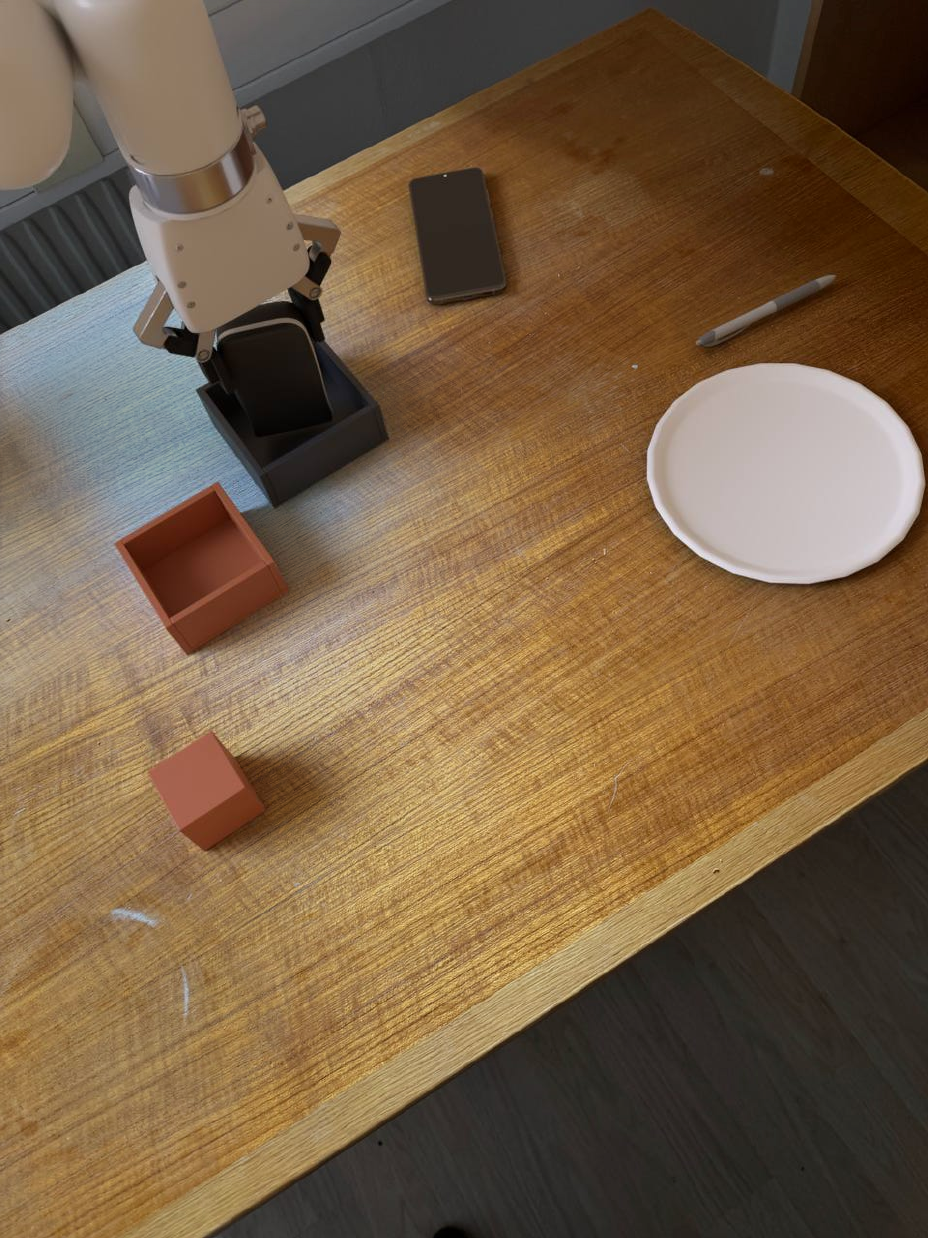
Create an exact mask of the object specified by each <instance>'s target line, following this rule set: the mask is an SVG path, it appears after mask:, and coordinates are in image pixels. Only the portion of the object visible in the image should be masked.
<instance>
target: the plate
mask: <svg viewBox="0 0 928 1238" xmlns="http://www.w3.org/2000/svg"><path fill="white" fill-rule="evenodd" d="M646 452H647V453H646V454H647V456H646V482H647V485H648V489H649V492H650V495H651V499H652V502H653V504H654V507H655V510H656V511H657V513H658V514H659V516H660V517H661V519H662V520H663V521H664V523H665V525H666V526H667V528H668V529H669V530H670V532H671V534H672V535H673V536H674V537H675V538H676V539H678V541H680V542H681V543H682V544H684V545H685V546H686V547H687V548H688V549H689V550H690V551H692V552H693V554H695V555H696V556H697V557H698V558H700V559H702V560H704V561H706V562H707V563H709V564H712V565H714V566H716V567H718V568H720V569H721V570H723V571H725V572H727V573H729V574H731V575H733V576H738V577H741V578H744V579H745V578H746V579H750V580H754V581H756V582H757V581H758V582H762V583H764V584H770V585H801V586H802V585H803V586H804V585H805V586H810V585H814V584H820V583H825V582H830V581H834V580H835V581H836V580H840V579H845V578H847V577H850V576H851V575H854V574H856V573H858V572H860V571H862V570H865V569H866V568H868V567H870V566H873V565H875V564H877V563H879V562H880V561H881V560H882V559H883V558H884V557H886V556H887V555H888V554H889V553H891V551H892V550H893V549H894V548H897V546H898V545H899V544H901V543H902V542H903V541H904V539H905V537H906V536H907V534H908V532H909V531H910V529H911V527H913V524H914V522H915V521H916V519H917V518H918V516H919V514H920V513H921V512H920V511H921V507H922V502H923V497H924V492H925V488H926V477H925V471H924V462H923V456H922V452H921V450H920V448H919V446H918V443H917V442H916V439H915V437H914V435H913V434H912V431H911V429H910V427H909V426H908V425H907V423H906V422H905V421H904V420H903V419H902V418H901V416H900V415H899V414H898V413H897V412H896V411H895V409H894V408H893V407H892V406H891V404H889V403H888V402H887V401H886V400H885V399H883V398H881V397H880V396H879V395H877V394H876V393H874V392H873V391H871V390H870V389H869V388H867V387H866V386H864V385H863V384H862V383H860V382H858V381H855V380H853V379H850V378H848V377H845V376H844V375H842V374H838V373H836V372H834V371H831V370H829V369H826V368H825V369H824V368H821V367H820V368H819V367H814V366H811V365H805V364H801V363H792V362H791V363H788V362H787V363H783V362H782V363H781V362H780V363H777V362H776V363H775V362H773V363H772V362H771V363H767V362H766V363H765V362H763V363H762V362H760V363H756V364H751V365H745V366H740V367H735V368H730V369H727V370H724V371H722V372H720V373H717V374H715V375H713V376H710V377H708V378H706V379H703V380H701V381H699V382H697V383H696V384H694V385H693V386H692V387H690V388H689V389H688V390H687V391H685V392H684V393H683V394H682V395H680V396H679V397H677V398H676V399H675V400H674V401H673V402H672V403H671V405H670V406H669V407H668V408H667V410H666V412H664V414H663V415H662V416H661V418H660V419H659V421H658V422H657V423H656V426H655V428H654V431H653V434H652V436H651V439H650V442H649V445H648V448H647V450H646Z"/></svg>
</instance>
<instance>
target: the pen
mask: <svg viewBox="0 0 928 1238" xmlns="http://www.w3.org/2000/svg"><path fill="white" fill-rule="evenodd" d="M836 278H837V275H836V274H831V275H830V274H828V275H823V276H822V277H819V278H816V279H814V280H811V281H808V282H807V283H805V284H803V285H801V286H798V287H797V288H795V289H792V290H790V291H788V292H786V293H784V294H782V295H780V296H779V297H776V298H773V299H772V300H770V301H767V302H766V303H765V304H762V305H761V306H759V307H757V308H754V309H752V310H750V311H749V312H745V313H744V314H741V315H740V316H737V317H736V318H734V319H731V320H729V321H727V322H725V323H723V324H721V325H719V326H717V327H715V328H713V329H711V330H709V331H706V333H704V334H702V335H700V336H699V338H698V340H696V341H695V345H696V346H704V347H714V346H717V345H719V344H721V343H723V342H725V341H728V340H730V339H732V338H733V337H735V336H736V335H738V334H740V333H742V332H743V331H745V330H746V329H747V328H748V327H750V325H751V324H753V323H755V322H757V321H759V320H761V319H763V318H765V317H767V316H769V315H772V314H774V313H777V312H778V311H781V310H783V309H785V308H786V307H789V306H791V305H793V304H795V303H797V302H799V301H801V300H803V299H806V298H807V297H809V296H811V295H813V294H815V293H818V292H819V291H821V290H822V289H823V290H824V289H825V288H826V287H827V286H829V285H830V284H832V282H834V281H835V280H836Z"/></svg>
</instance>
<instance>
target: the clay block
mask: <svg viewBox="0 0 928 1238" xmlns="http://www.w3.org/2000/svg"><path fill="white" fill-rule="evenodd" d="M147 776H148V777H149V779H150V780H151V783H152V784H153V786H154V788H155V790H156V791H157V794H158V795H159V797H160V798H161V801H162V803H163V804H164V806H165V808H166V810H167V811H168V813H169V815H170V817H171V819H172V820H173V822H174V824H175V826H176V828H177V830H178V832H180V833H181V834H183V835H184V836H185V837H186V838H187V839H189V840H190V841H191V842H192V843H193V844H194V845H196V846H197V847H198V848H200V850H202V851H203V852H205V851H208V849H211V848H212V847H213V846H215V845H216V844H218V843H219V842H221V841H223V840H224V839H225V838H226V837H228V836H230V835H231V834H233V833H234V832H236V831H238V829H240V828H242V827H243V826H245V825H246V824H247V823H249V822H251V821H253V820H254V819H256V818H257V817H258V816H259V815H261V814H263V813H264V812H266V810H267V809H266V807H265V805H264V804H263V802H262V801H261V799H260V797H259V795H258V794H257V793H256V790H255V789H254V788H253V786H252V785H251V783H250V781H249V779H248V778H247V776H246V774H245V772H244V771H243V769H242V768H241V766H240V764H239V762H238V761H237V760H236V758H235V756H234V755H233V754H232V752H231V751H230V750H229V749H228V748H227V747H226V746H225V745H224V743H223V742H222V741H221V740H220V738H218V736H217V735H216V734H215V732H213V730H210V731H209V732H207V733H206V734H204V735H202V736H201V737H199V738H198V739H196V740H195V741H193V742H191V743H190V744H189V745H187V746H185V747H183V748H182V749H181V750H179V751H177V752H176V753H175V754H173V755H171V756H170V757H168V758H167V759H164V761H162V762H160V763H159V764H157V765H156V766H154V767H153V768H151V769H149V770H148V771H147Z"/></svg>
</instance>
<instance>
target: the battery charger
mask: <svg viewBox="0 0 928 1238" xmlns="http://www.w3.org/2000/svg"><path fill="white" fill-rule="evenodd" d="M215 337H216V342H215V343H216V344H215V349H216V350H217V351H218V353H219V354H220V356H221V357H222V359H223V361H224V364H225V366H226V368H227V370H228V373H229V375H230V377H231V379H232V382H233V384H234V386H235V388H236V389H234V392H235V394H236V396H237V398H238V400H239V402H240V404H241V406H242V407H243V409H244V411H245V413H246V415H247V417H248V419H249V422H250V424H251V427H252V430H253V432H254V434H255V436H256V437H264V436H269V435H275V434H280V433H284V432H289V431H294V430H299V429H303V428H307V427H311V426H316V425H319V424H323V423H327V422H330V421H332V416H333V411H332V408H331V405H330V402H329V400H328V397H327V394H326V391H325V388H324V384H323V380H322V376H321V372H320V368H319V364H318V360H317V357H316V354H315V348H314V345H313V342H312V339H311V335H310V332H309V330H308V327H307V324H306V321H305V319H304V316H303V314H302V312H301V311H300V309H299V308H298V307H297V306H296V305H295V304H294V303H292V301H289V300H277V301H272V302H267V303H262V304H260V305H258V306H257V307H255V308H253V309H251V310H249V311H248V312H246V313H244V314H242V315H240V316H239V317H237V318H235V319H233V320H231V321H229V322H227V323H226V324H224V325H222V326H220V327H218V328H216V333H215Z"/></svg>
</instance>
